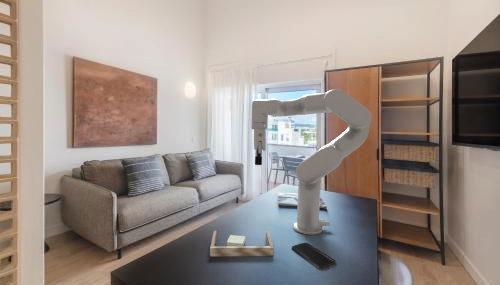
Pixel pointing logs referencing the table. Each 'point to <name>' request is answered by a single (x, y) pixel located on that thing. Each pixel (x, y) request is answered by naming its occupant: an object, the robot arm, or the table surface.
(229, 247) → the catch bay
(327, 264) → the phone
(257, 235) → the table surface
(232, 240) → the sage tile
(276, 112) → the robot arm
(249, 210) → the table surface
